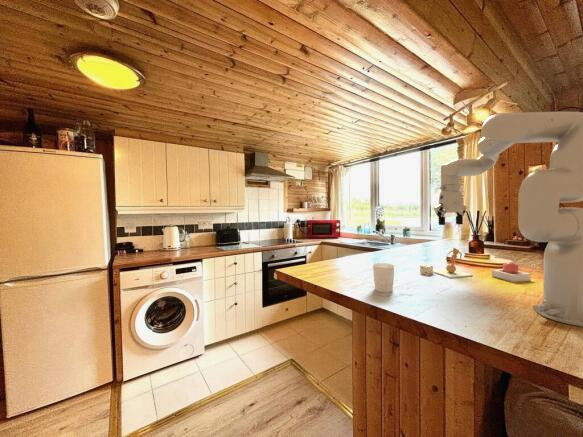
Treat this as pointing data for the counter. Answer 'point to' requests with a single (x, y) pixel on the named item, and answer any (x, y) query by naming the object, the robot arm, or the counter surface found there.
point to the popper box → (511, 276)
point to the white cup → (383, 277)
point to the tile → (451, 275)
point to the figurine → (451, 267)
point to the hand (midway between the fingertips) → (450, 224)
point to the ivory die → (426, 269)
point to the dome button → (510, 268)
